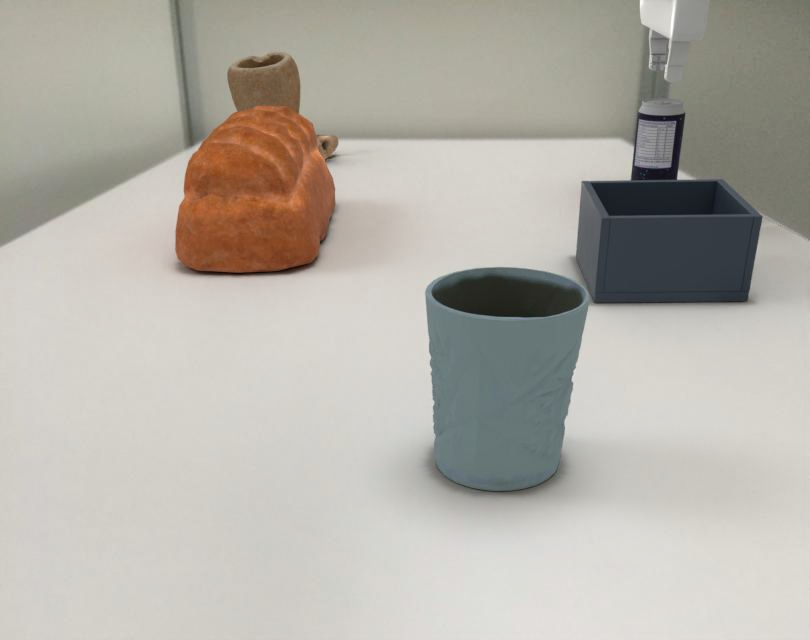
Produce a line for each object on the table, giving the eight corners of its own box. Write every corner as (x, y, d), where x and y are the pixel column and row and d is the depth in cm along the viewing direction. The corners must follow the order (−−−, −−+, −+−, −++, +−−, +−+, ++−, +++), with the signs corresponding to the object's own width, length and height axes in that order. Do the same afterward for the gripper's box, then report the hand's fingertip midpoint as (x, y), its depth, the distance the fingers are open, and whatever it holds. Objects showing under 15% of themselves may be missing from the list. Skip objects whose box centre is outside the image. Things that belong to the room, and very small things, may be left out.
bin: (711, 256, 105) (723, 178, 100) (747, 301, 92) (763, 216, 88) (575, 257, 105) (581, 180, 101) (594, 302, 93) (601, 218, 88)
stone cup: (223, 169, 145) (210, 58, 137) (248, 152, 155) (238, 48, 147) (321, 171, 143) (314, 58, 135) (340, 154, 152) (335, 48, 144)
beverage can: (682, 205, 122) (696, 102, 116) (644, 210, 121) (656, 106, 114) (657, 195, 127) (669, 96, 120) (619, 200, 125) (629, 99, 118)
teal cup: (403, 444, 69) (400, 278, 62) (527, 417, 72) (536, 256, 66) (468, 511, 61) (472, 329, 55) (604, 476, 64) (622, 301, 58)
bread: (340, 200, 128) (335, 92, 121) (314, 274, 102) (305, 142, 95) (224, 201, 129) (211, 94, 122) (167, 275, 102) (147, 144, 95)
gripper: (733, -58, 99) (711, 89, 107) (689, -63, 116) (673, 64, 124) (671, -58, 99) (654, 89, 107) (636, -62, 117) (623, 65, 124)
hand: (664, 76), depth 116 cm, fingers open, 8 cm apart
